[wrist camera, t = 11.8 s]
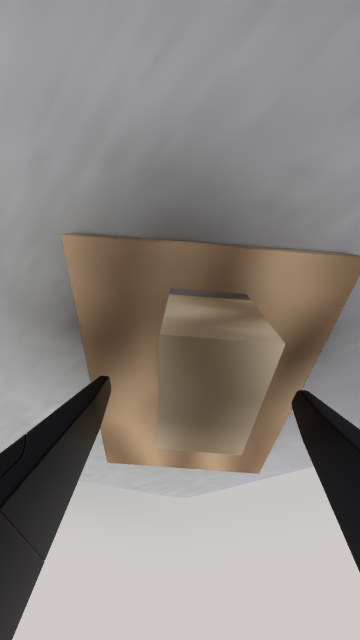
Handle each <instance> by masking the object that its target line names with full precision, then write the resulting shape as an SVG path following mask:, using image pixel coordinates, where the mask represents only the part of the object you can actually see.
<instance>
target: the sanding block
mask: <svg viewBox="0 0 360 640" xmlns="http://www.w3.org/2000/svg"><path fill="white" fill-rule="evenodd" d="M284 347H285V342H284V341H283V340H282V339H281V337H280V336H279V335H278V334H277V332H276V331H275V330H274V328H273V327H272V326H271V325H270V323H269V322H268V321H267V320H266V318H265V317H264V316H263V315H262V313H261V312H260V311H259V309H258V308H257V307H256V306H255V304H254V303H253V302H252V301H251V299H250V298H249V297H248V295H247V294H238V293H225V292H212V291H199V290H186V289H173V288H170V293H169V297H168V301H167V305H166V309H165V313H164V318H163V322H162V326H161V330H160V334H159V379H158V424H157V449H165V450H178V451H191V452H205V453H218V454H232V455H242V453H243V451H244V448H245V446H246V443H247V441H248V438H249V435H250V433H251V430H252V428H253V425H254V423H255V420H256V418H257V415H258V413H259V410H260V408H261V405H262V403H263V400H264V397H265V395H266V392H267V390H268V387H269V385H270V382H271V380H272V377H273V375H274V372H275V370H276V367H277V365H278V362H279V359H280V357H281V354H282V352H283V349H284Z"/></svg>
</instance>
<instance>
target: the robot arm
mask: <svg viewBox="0 0 360 640" xmlns="http://www.w3.org/2000/svg"><path fill="white" fill-rule="evenodd" d="M110 394H111V382H110V377H109V376H99V377H98V378H97V379H95V380H94V381H93V382H91V383H90V384H89V385H88V386H86V387H85V388H84V389H82V390H81V391H80V392H79V393H77V394H76V395H75V396H74V397H72V398H71V399H70V400H68V401H67V402H66V403H65V404H63V405H62V406H61V407H59V408H58V409H57V410H56V411H54V412H53V413H52V414H50V415H49V416H48V417H47V418H45V419H44V420H43V421H41V422H40V423H39V424H38V425H36V426H35V427H34V428H33V429H31V430H30V431H29V432H27V434H25V435H23V436H22V437H21V438H20V439H18V440H17V441H16V442H14V443H13V444H12V445H10V446H9V447H8V448H7V449H5V450H4V451H3V452H1V453H0V640H12V638H13V636H14V634H15V631H16V629H17V626H18V624H19V622H20V619H21V617H22V614H23V612H24V610H25V607H26V605H27V602H28V600H29V598H30V595H31V593H32V590H33V588H34V586H35V583H36V581H37V578H38V576H39V574H40V571H41V569H42V566H43V564H44V560H45V559H46V557H47V554H48V552H49V549H50V547H51V545H52V542H53V540H54V537H55V535H56V533H57V530H58V528H59V525H60V523H61V521H62V518H63V516H64V513H65V511H66V508H67V506H68V504H69V501H70V499H71V497H72V494H73V491H74V489H75V487H76V485H77V482H78V480H79V477H80V475H81V473H82V470H83V468H84V465H85V463H86V461H87V458H88V456H89V453H90V451H91V449H92V446H93V444H94V441H95V439H96V437H97V434H98V432H99V429H100V427H101V424H102V421H103V418H104V414H105V411H106V408H107V404H108V401H109V398H110ZM292 409H293V412H294V415H295V418H296V421H297V424H298V427H299V430H300V434H301V436H302V439H303V442H304V444H305V447H306V449H307V451H308V454H309V456H310V458H311V460H312V463H313V465H314V467H315V469H316V472H317V474H318V477H319V479H320V481H321V484H322V486H323V488H324V490H325V493H326V495H327V497H328V500H329V502H330V505H331V507H332V509H333V511H334V514H335V516H336V518H337V521H338V523H339V525H340V528H341V530H342V532H343V535H344V537H345V539H346V542H347V544H348V546H349V549H350V551H351V553H352V555H353V558H354V560H355V562H356V564H357V567H358V569H359V572H360V429H358V428H357V427H356V426H354V425H353V424H352V423H350V422H349V421H348V420H346V419H345V418H344V417H342V416H341V415H339V414H338V413H337V412H335V411H334V410H333V409H331V408H330V407H329V406H327V405H326V404H325V403H323V402H322V401H321V400H319V399H318V398H317V397H315V396H314V395H312V394H311V393H310V392H308V391H305V390H298V391H297V392H296V394H295V396H294V398H293V400H292Z"/></svg>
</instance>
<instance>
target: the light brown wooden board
mask: <svg viewBox="0 0 360 640" xmlns="http://www.w3.org/2000/svg"><path fill="white" fill-rule="evenodd" d="M61 239H62V244H63V249H64V254H65V259H66V264H67V269H68V273H69V278H70V283H71V288H72V293H73V298H74V303H75V308H76V312H77V317H78V322H79V327H80V332H81V337H82V342H83V346H84V351H85V356H86V361H87V366H88V371H89V376H90V381H91V382H93V381H94V380H95V379H97V378H98V377H99V376H109V377H110V382H111V394H110V398H109V401H108V404H107V408H106V411H105V414H104V418H103V421H102V424H101V427H100V429H101V434H102V439H103V444H104V449H105V454H106V458H107V463H121V464H135V465H148V466H162V467H176V468H189V469H203V470H217V471H230V472H244V473H258V474H259V472H260V470H261V469H262V467H263V465H264V463H265V461H266V459H267V457H268V455H269V453H270V451H271V449H272V447H273V445H274V443H275V441H276V439H277V437H278V435H279V433H280V431H281V429H282V427H283V425H284V423H285V421H286V419H287V417H288V415H289V413H290V411H291V409H292V400H293V398H294V396H295V394H296V392H297V391H298V390H302V388H303V386H304V384H305V382H306V380H307V378H308V376H309V374H310V372H311V370H312V368H313V366H314V364H315V362H316V360H317V358H318V356H319V354H320V352H321V350H322V348H323V346H324V344H325V342H326V340H327V338H328V336H329V334H330V332H331V330H332V328H333V326H334V325H335V323H336V321H337V319H338V317H339V315H340V313H341V311H342V309H343V307H344V305H345V303H346V301H347V299H348V297H349V295H350V293H351V291H352V289H353V287H354V285H355V283H356V281H357V279H358V277H359V275H360V256H358V255H353V254H343V253H330V252H317V251H303V250H290V249H277V248H263V247H250V246H237V245H223V244H210V243H197V242H183V241H170V240H157V239H143V238H130V237H117V236H104V235H90V234H77V233H70V234H62V235H61ZM170 288H173V289H186V290H199V291H212V292H225V293H238V294H247V295H248V297H249V298H250V299H251V301H252V302H253V303H254V304H255V306H256V307H257V308H258V309H259V311H260V312H261V313H262V315H263V316H264V317H265V318H266V320H267V321H268V322H269V323H270V325H271V326H272V327H273V328H274V330H275V331H276V332H277V334H278V335H279V336H280V337H281V339H282V340H283V341H284V342H285V347H284V349H283V352H282V354H281V357H280V359H279V362H278V365H277V367H276V370H275V372H274V375H273V377H272V380H271V382H270V385H269V387H268V390H267V392H266V395H265V397H264V400H263V403H262V405H261V408H260V410H259V413H258V415H257V418H256V420H255V423H254V425H253V428H252V430H251V433H250V435H249V438H248V441H247V443H246V446H245V448H244V451H243V453H242V455H232V454H218V453H205V452H191V451H178V450H165V449H157V424H158V379H159V334H160V330H161V326H162V322H163V318H164V313H165V309H166V305H167V301H168V297H169V293H170Z"/></svg>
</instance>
